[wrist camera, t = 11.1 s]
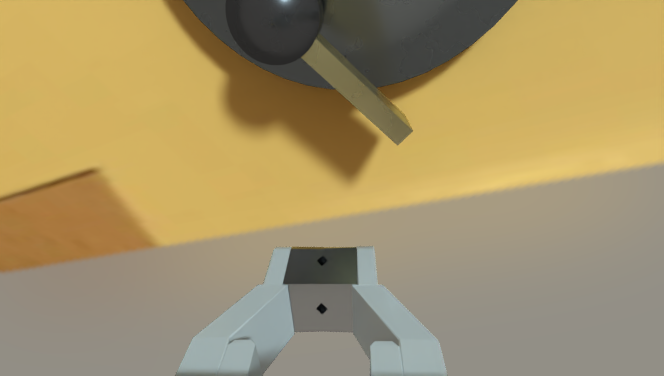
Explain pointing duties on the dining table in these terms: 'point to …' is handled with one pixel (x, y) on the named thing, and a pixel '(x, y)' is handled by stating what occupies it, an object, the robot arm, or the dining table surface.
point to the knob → (309, 53)
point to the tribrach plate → (379, 35)
